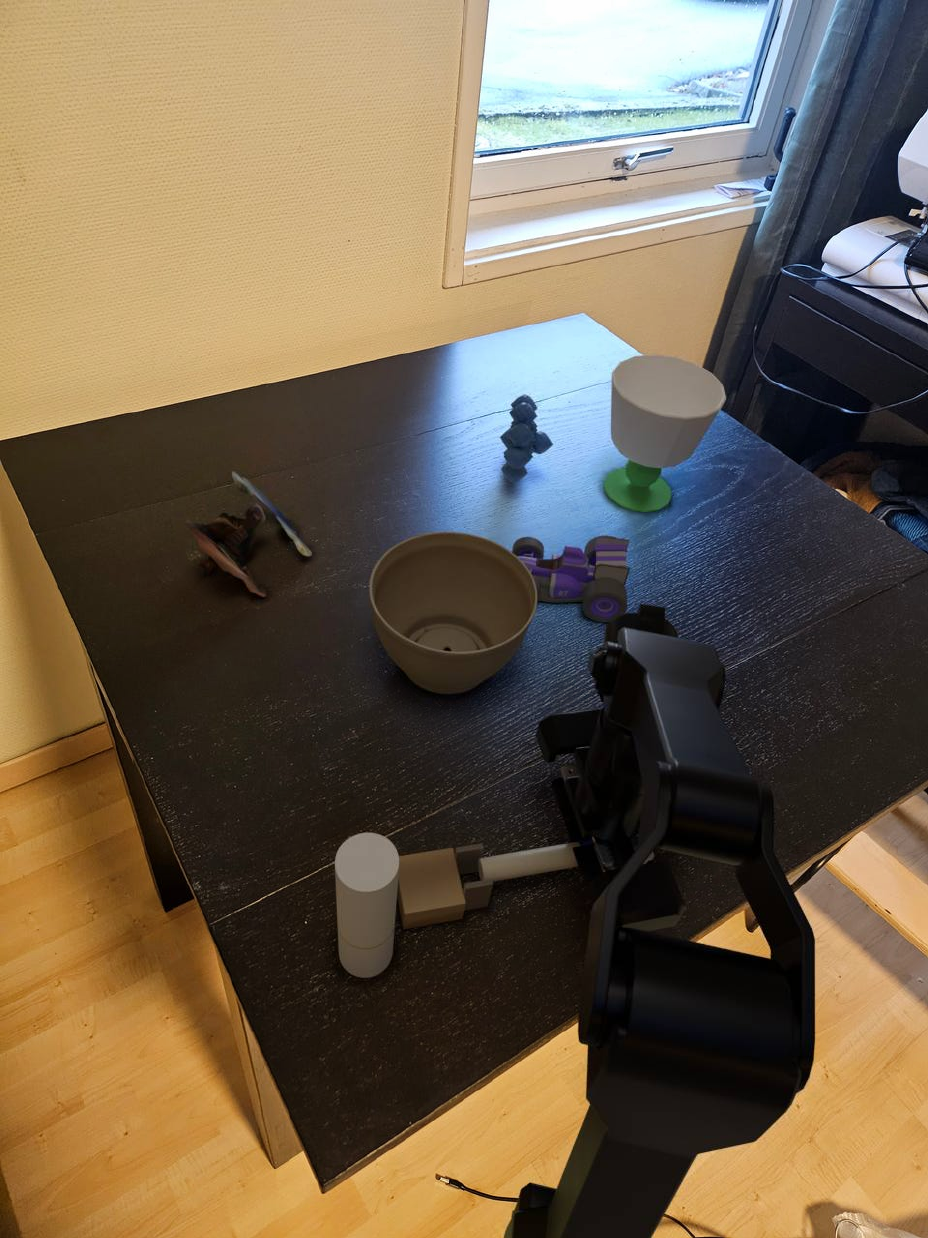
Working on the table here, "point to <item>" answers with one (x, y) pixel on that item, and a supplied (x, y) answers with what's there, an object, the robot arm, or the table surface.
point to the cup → (657, 424)
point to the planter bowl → (451, 608)
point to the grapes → (522, 439)
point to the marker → (529, 861)
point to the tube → (366, 903)
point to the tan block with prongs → (440, 886)
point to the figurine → (238, 537)
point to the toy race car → (580, 574)
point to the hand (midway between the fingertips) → (584, 863)
